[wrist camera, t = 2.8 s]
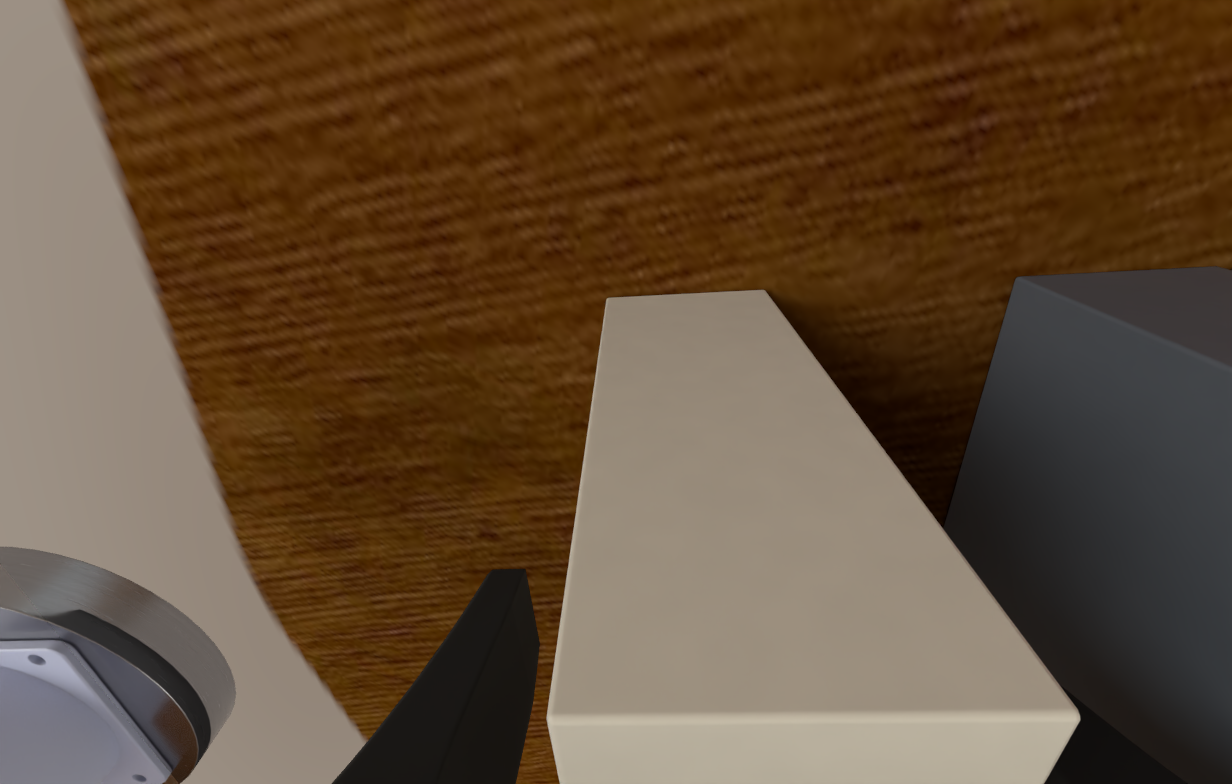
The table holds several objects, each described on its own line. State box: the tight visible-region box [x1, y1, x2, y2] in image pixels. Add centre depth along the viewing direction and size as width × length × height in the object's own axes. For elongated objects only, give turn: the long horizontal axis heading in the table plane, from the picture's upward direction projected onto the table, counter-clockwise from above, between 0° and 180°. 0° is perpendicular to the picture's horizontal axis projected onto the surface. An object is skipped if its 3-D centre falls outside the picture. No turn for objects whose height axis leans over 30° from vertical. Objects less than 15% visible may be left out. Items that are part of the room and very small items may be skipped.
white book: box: [547, 290, 1080, 784], centre depth 9 cm, size 3×10×8 cm, turn 4°
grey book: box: [943, 266, 1232, 784], centre depth 8 cm, size 4×10×8 cm, turn 4°
